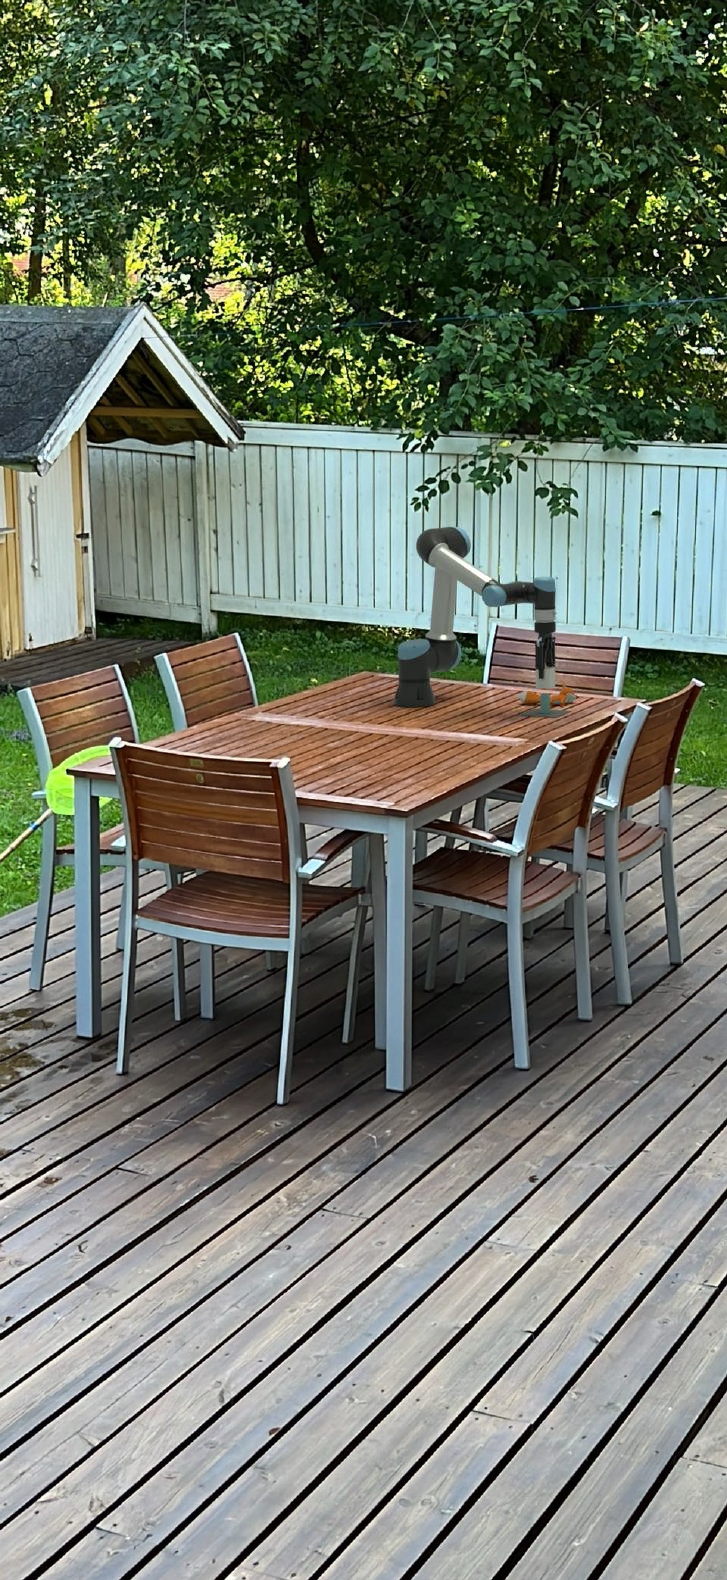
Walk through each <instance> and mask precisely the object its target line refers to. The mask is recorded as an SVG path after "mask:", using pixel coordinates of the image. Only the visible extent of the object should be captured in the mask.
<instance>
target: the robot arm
mask: <svg viewBox="0 0 727 1580" xmlns="http://www.w3.org/2000/svg"><path fill="white" fill-rule="evenodd" d="M471 548H472V546H471V538H470V537H469V535H468V533H467V532H466V531H465V530H464V529H463V528H462V527H459V526H444V527H438V528H437V527H435V528H429V529H428V528H427V529H425V530H424V531H422V532H421V533H419V536H418V537H417V539H416V543H415V550H416V553H417V555H418V556H419V558H420V559H421V560H422V561H423V562H425V563H426V564H427V565H428V566H430V567H432V568H434V575H433V579H434V580H433V586H432V587H433V588H432V589H433V590H432V600H431V601H432V602H431V611H430V612H431V613H430V626H429V631H428V632H426V633H425V638H424V639H423V638H416V639H410V640H406V641H403V642H401V643H400V644H399V645H398V648H397V650H398V651H397V666H398V668H397V670H398V672H397V673H398V684H397V685H398V686H397V688H396V692H395V695H394V699H393V702H394V704H393V705H395V706H397V707H406V708H422V707H430V706H434V705H436V697H435V694H434V691H433V688H432V685H431V674H434V673H439V672H440V673H443V672H448V671H449V670H453V669H455V667H457V666H458V665H459V664H460V662H461V657H462V648H461V646H460V643H459V642H458V641H457V635H455V633H454V621H455V614H456V613H455V611H456V610H455V609H456V600H457V589H458V587H457V586H458V582H459V583H461V584H463V586H465V587H467V588H468V589H470V590H471V591H473V592H474V593H475V594H477V595H479V596H480V597H481V599H482V601H483V603H484V605H485V606H486V607H489V608H500V607H505V606H511V605H518V604H519V605H520V604H533V620H534V623H533V624H534V627H533V628H534V629H533V630H534V633H536V634H538V637H537V640H534V648H535V650H534V651H535V652H534V653H535V655H534V657H535V662H534V663H535V670H536V669H537V670H538V688H537V689H547V688H546V669H545V668H555V667H556V640H557V639H556V636H553V633H556V632H557V629H556V628H557V626H556V624H557V623H556V618H557V617H556V615H557V614H558V613H557V611H556V594H557V593H556V591H557V589H556V580H555V578H554V577H552V576H538V577H535V578H534V579H533V581H532V582H531V581H521V580H517V581H510V582H509V583H501V582H499V581H498V580H496V579H495V578H493V577H491V576H490V575H488V574H487V573H485V572H484V571H483V570H481V569H479V568H478V567H476V566H475V565H473V564H472V563H470V562H469V561H467V560H466V559H464V558H466V557H467V556H468V555H469V553H470V552H471Z"/></svg>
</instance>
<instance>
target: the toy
mask: <svg viewBox="0 0 727 1580" xmlns="http://www.w3.org/2000/svg"><path fill="white" fill-rule="evenodd" d="M565 682H566V681H563V682H562V685H561V686H562V689H561V690H560V692H559V694H557V695H550V709H552V706H560V708H564V707H565V705H570V704H572V703H573V702H574V700H576V699H578V695H577V694H575V692H574V690H573V689H572V688H571V687H569V686H568V687H567V686H566V683H565ZM516 698H517V699H518V700H520V702H521V703H523V704H524V705H526V706H529V705H530V706H531V705H532V706H534V705H537V704H540V695H539V694H538V693H535V692H533V691H530V690H527V691H523V692H522V693H520V694H519V695H517V696H516Z"/></svg>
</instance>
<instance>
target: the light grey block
mask: <svg viewBox="0 0 727 1580" xmlns="http://www.w3.org/2000/svg"><path fill="white" fill-rule="evenodd" d="M545 669H546V688H545V689H549V690H550V689H553V688H555V687H556V668H555V667H553V668H545ZM535 689H539V688H538V670H537V669H535Z"/></svg>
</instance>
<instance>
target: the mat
mask: <svg viewBox="0 0 727 1580" xmlns="http://www.w3.org/2000/svg"><path fill="white" fill-rule="evenodd" d="M571 712H572V710H565V709H563V710H562V709H550V713H540V708H533V709H530V710H527V711H525V712H523V713H520V714H518V716H521V717H522V716H523V717H536V718H537V717H539V718H552V719H553V718H554V719H557V718H559V717H562V716H565V715H567V714H569V713H571Z"/></svg>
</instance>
